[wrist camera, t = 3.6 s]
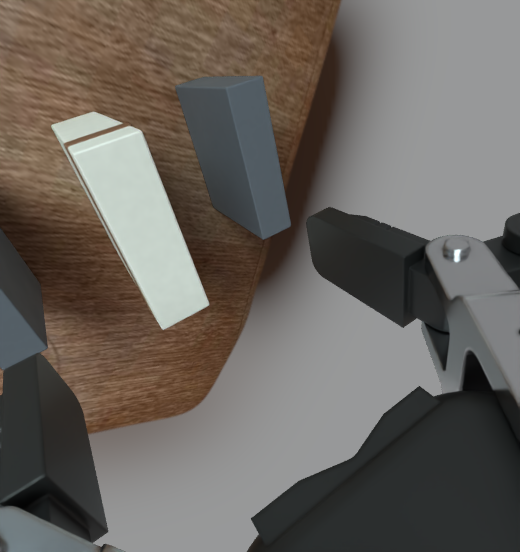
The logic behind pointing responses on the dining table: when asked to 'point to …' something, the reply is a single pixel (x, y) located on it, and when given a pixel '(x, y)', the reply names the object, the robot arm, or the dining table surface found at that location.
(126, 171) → the white box
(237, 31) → the dining table surface
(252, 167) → the grey parallel blocks
